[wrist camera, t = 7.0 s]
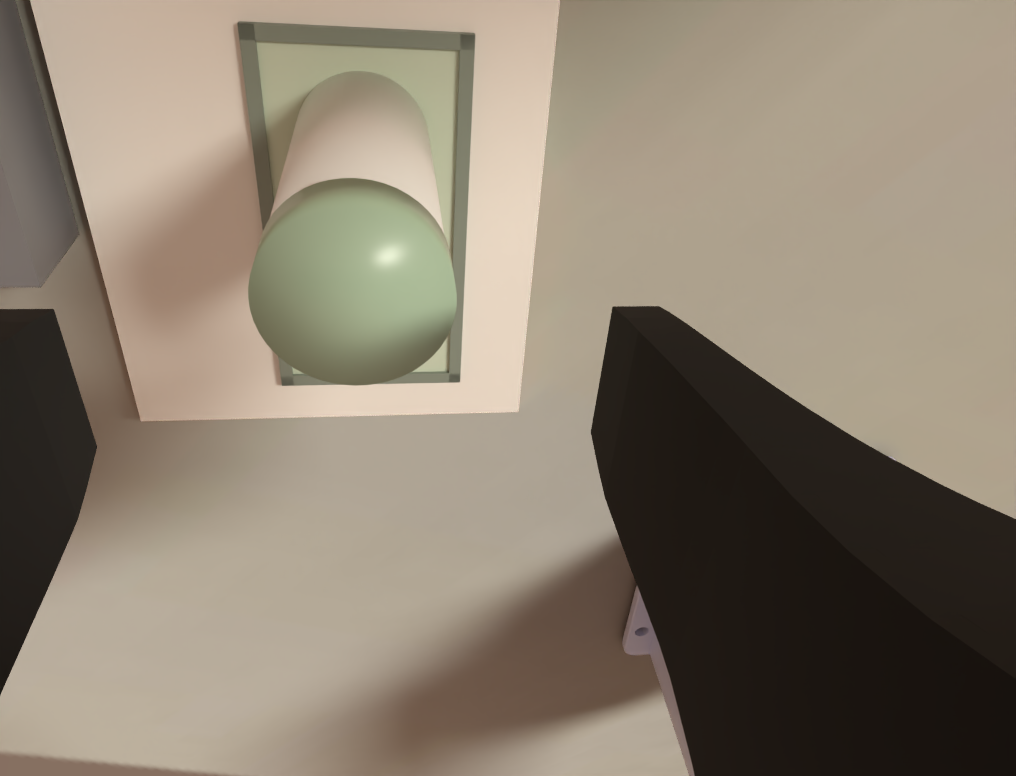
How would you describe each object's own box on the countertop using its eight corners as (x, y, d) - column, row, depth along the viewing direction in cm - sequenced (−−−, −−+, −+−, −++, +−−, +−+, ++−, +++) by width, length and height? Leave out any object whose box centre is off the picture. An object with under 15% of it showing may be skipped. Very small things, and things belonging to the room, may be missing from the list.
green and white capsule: (427, 206, 18) (449, 386, 12) (296, 199, 17) (255, 383, 12) (435, 74, 16) (464, 212, 10) (289, 61, 15) (238, 199, 10)
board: (515, 398, 22) (519, 416, 21) (146, 407, 21) (138, 426, 20) (557, -34, 16) (564, -28, 15) (25, -67, 14) (9, -61, 14)
